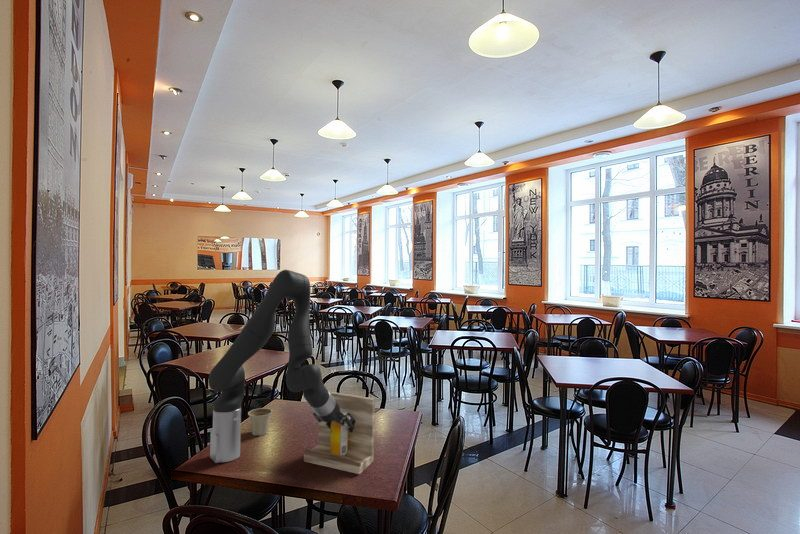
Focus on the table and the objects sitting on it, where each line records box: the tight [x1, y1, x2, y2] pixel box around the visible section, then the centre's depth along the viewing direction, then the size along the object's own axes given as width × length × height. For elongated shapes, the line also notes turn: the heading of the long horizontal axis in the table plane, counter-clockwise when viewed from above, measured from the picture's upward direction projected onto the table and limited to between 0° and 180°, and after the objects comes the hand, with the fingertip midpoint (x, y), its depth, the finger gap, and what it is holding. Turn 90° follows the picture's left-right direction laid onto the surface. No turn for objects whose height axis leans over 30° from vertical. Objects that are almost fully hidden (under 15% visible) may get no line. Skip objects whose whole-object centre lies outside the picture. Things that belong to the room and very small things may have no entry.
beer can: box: [330, 409, 348, 457], centre depth 144 cm, size 6×6×15 cm
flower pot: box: [247, 407, 273, 437], centre depth 167 cm, size 9×9×9 cm
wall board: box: [303, 391, 376, 475], centre depth 144 cm, size 11×22×22 cm, turn 68°
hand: (341, 427), depth 145 cm, fingers open, 8 cm apart
